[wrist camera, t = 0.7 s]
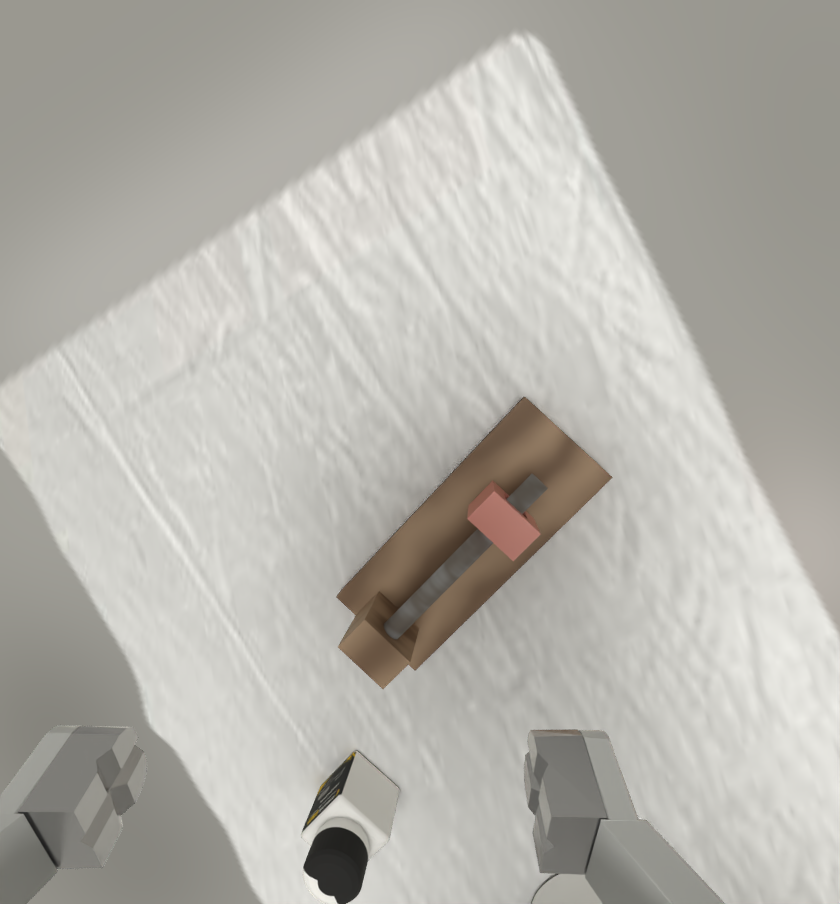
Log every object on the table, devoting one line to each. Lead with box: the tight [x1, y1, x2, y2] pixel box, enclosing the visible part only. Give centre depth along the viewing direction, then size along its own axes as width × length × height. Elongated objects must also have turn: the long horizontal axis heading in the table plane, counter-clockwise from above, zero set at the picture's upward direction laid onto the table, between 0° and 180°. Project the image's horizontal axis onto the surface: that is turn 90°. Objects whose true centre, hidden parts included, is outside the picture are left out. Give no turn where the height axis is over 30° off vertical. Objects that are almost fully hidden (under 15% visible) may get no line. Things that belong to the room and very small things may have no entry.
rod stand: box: [337, 397, 612, 689], centre depth 50 cm, size 12×30×9 cm, turn 138°
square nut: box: [467, 481, 541, 561], centre depth 46 cm, size 6×4×6 cm, turn 48°
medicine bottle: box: [301, 751, 399, 904], centre depth 53 cm, size 7×7×12 cm
